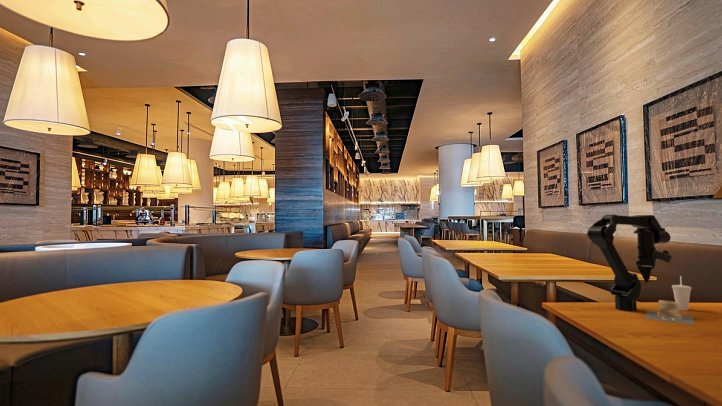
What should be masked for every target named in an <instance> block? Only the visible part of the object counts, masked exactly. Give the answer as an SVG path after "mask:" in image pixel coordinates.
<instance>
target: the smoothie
mask: <svg viewBox="0 0 722 406" xmlns="http://www.w3.org/2000/svg"><path fill="white" fill-rule="evenodd" d="M682 277H683V276H682V275H680V276H679V284H672V285H671V288H672V291H673V296H674V302H679V311H680V310H681V311H689V307H690V298H691V297H690V296H691V291H692V286H690V285H689V286H688V285H683V279H682Z"/></svg>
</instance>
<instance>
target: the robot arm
mask: <svg viewBox="0 0 722 406" xmlns="http://www.w3.org/2000/svg"><path fill="white" fill-rule="evenodd" d="M617 225H622V226H623V225H625V226H631V227H633V228H636V229H635V230H634V231H633V234H637V235H636V236H637V239H636V240H637V248H636V249H637V259H636V260H635V266H636V267H637V270H638V271H639V273H640V275H641V277H642V279H643V281H644V282H645V283H649V281H650V280H651V274H652V270H653V269H655V268H656V265H657V263H658V261H657V259H658V260H661V261H663V262H665V263H671V260H672V258H673V254H670V253H669V250H666V249H665V250H662V251H661V250H657V247H656V246H655V244H656V245H659V244H667V243H669V242H670V240H671V235H670V234H669V232H668V231H667V230H666V228H665V227H662V226H661V225H660V222H659V220H658V219H657V218H656V217H655V215H653V214H637V215H632V216H631V215H617V214H604V216H602V217H601V218H600V219H599V220H597V221H596V222H594V223H593V224H591V226H590V227H589V228H588V229H587V232H586V235H587V237H588V239H589V240H590V241H591V243H593V244H594V245H595V246H597V247H598V248H599V249H600V251H601V253H602V254H603V256H604V259H605V260H606V262H607V263H608V265H609V267H610V269H611V270H612V273H613V274H614V279H613V282H614V284H613V285H612V287H611V288H610V290H609V291H610V294H611V295H612V296H613V295H614V301H615V302H614V304H615V305H614V306H615V309H616V310H618V311H624V312H635V311H637V309H638V307H637V300H636V299H639V298H640V295H641V290H642V285H641V282H642V281H641V280H640V279H639V277H638V275H637V273H635V272H629V271H628V269H627V267H626V265H625V263H624V262H623V261H624V260H622V258H621V256H620V255H619V253H618V251H617V249H616V246H615V245H614V239H615V237H614V234H615V233H616V231H617Z"/></svg>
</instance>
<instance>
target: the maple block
mask: <svg viewBox="0 0 722 406" xmlns="http://www.w3.org/2000/svg"><path fill="white" fill-rule="evenodd" d="M658 312H659V316H666V317H674V318H680V317H679V315H680V310H679V302H675V301H672V300H664V299H663V300H661V299H659V300H658Z"/></svg>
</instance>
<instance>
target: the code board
mask: <svg viewBox="0 0 722 406" xmlns="http://www.w3.org/2000/svg"><path fill="white" fill-rule="evenodd" d="M679 317H680V318H674V317H666V316H659V311H654V310H646V314H645V317H644V318H645V319H647V320H654V321H661V322H671V323H677V324H684V325H690V326H691V325H693V326H695V321H694V316H693V315H687V314H685V315H684V314H679Z"/></svg>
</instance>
